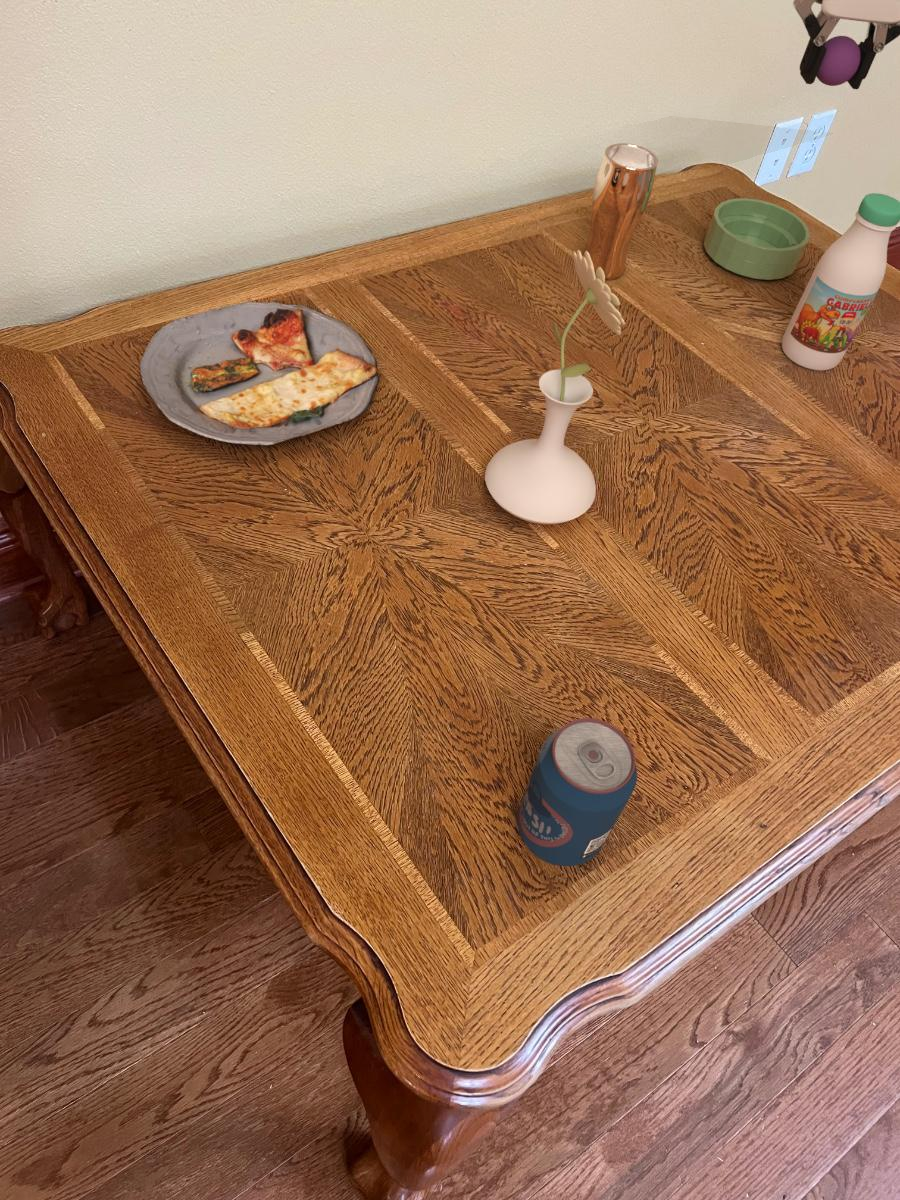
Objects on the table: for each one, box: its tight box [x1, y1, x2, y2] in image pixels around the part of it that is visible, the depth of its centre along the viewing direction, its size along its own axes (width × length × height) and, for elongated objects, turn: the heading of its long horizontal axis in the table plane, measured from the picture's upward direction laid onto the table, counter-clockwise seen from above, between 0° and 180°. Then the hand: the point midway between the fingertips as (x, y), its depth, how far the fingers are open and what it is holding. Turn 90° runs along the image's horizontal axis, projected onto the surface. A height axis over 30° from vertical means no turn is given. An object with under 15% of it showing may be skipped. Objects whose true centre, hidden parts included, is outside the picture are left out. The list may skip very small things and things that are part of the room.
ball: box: [816, 35, 861, 87], centre depth 108 cm, size 5×5×5 cm
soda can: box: [516, 717, 638, 867], centre depth 68 cm, size 7×7×12 cm
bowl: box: [703, 197, 811, 281], centre depth 130 cm, size 13×13×5 cm
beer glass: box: [582, 142, 659, 281], centre depth 120 cm, size 7×7×15 cm
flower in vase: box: [484, 249, 626, 525], centre depth 87 cm, size 13×11×25 cm
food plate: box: [139, 301, 381, 446], centre depth 101 cm, size 25×23×4 cm
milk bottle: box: [781, 192, 900, 371], centre depth 111 cm, size 8×8×20 cm
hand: (829, 80), depth 110 cm, fingers closed on ball, 4 cm apart
